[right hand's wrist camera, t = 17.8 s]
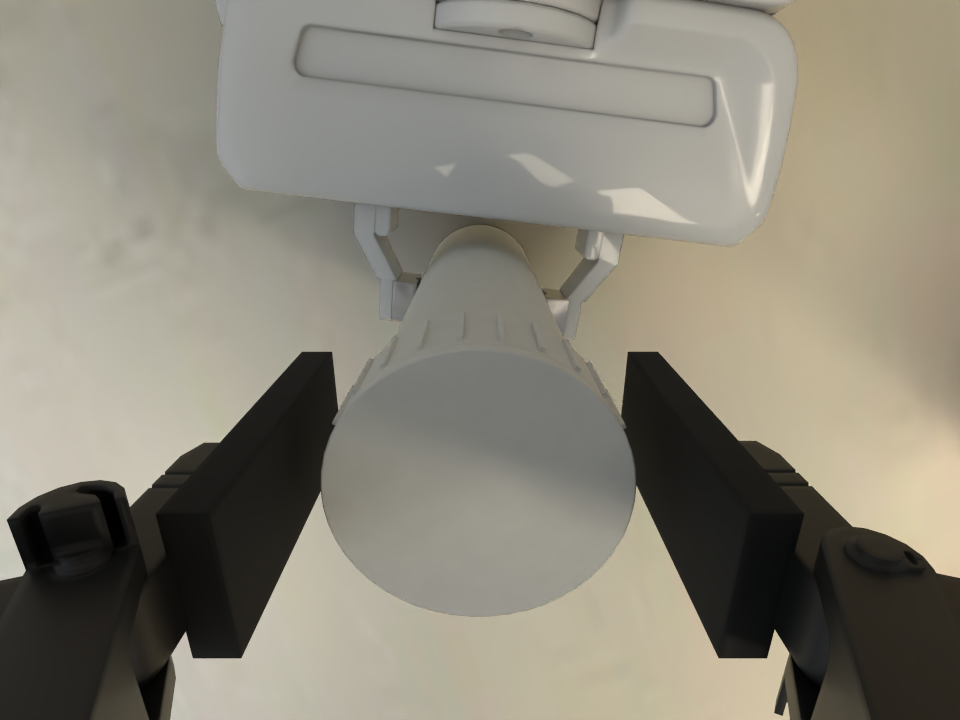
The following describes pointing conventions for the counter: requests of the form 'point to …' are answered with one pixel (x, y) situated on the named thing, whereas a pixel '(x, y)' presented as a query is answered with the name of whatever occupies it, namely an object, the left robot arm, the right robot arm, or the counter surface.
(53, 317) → the counter surface
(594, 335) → the counter surface
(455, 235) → the bottle
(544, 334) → the lid
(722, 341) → the counter surface
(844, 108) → the counter surface
